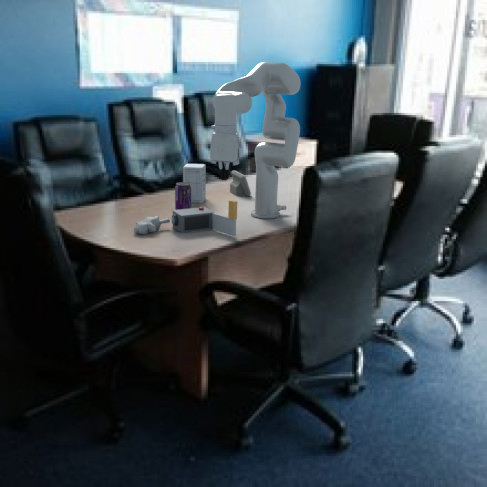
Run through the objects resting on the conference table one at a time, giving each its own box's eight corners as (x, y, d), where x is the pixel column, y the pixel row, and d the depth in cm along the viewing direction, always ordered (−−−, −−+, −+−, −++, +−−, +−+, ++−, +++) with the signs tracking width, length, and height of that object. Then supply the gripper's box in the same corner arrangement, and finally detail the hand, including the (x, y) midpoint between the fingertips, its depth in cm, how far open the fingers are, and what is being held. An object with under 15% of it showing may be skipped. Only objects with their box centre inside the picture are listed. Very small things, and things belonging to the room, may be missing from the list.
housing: (204, 223, 236) (204, 205, 234) (214, 229, 228) (214, 210, 226) (169, 227, 229) (169, 208, 227) (178, 233, 221) (178, 214, 219)
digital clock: (251, 197, 283) (252, 175, 280) (233, 197, 282) (234, 175, 279) (245, 189, 299) (246, 169, 295) (228, 190, 297) (229, 169, 294)
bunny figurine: (127, 223, 219) (153, 210, 231) (129, 235, 221) (154, 222, 233) (146, 227, 215) (171, 214, 226) (148, 240, 217) (172, 226, 228)
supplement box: (206, 198, 277) (206, 164, 272) (202, 203, 268) (203, 167, 263) (186, 197, 278) (186, 163, 273) (182, 202, 269) (182, 166, 264)
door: (210, 229, 227) (210, 195, 223) (213, 228, 228) (213, 195, 224) (233, 236, 218) (234, 201, 214) (236, 235, 219) (237, 201, 215)
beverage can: (188, 212, 251) (188, 185, 247) (173, 211, 252) (172, 184, 249) (193, 209, 258) (193, 182, 254) (178, 207, 259) (177, 181, 255)
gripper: (202, 129, 205) (202, 180, 211) (242, 132, 201) (241, 183, 207) (209, 126, 211) (209, 175, 218) (248, 129, 207) (247, 179, 214)
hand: (224, 179), depth 212 cm, fingers closed
